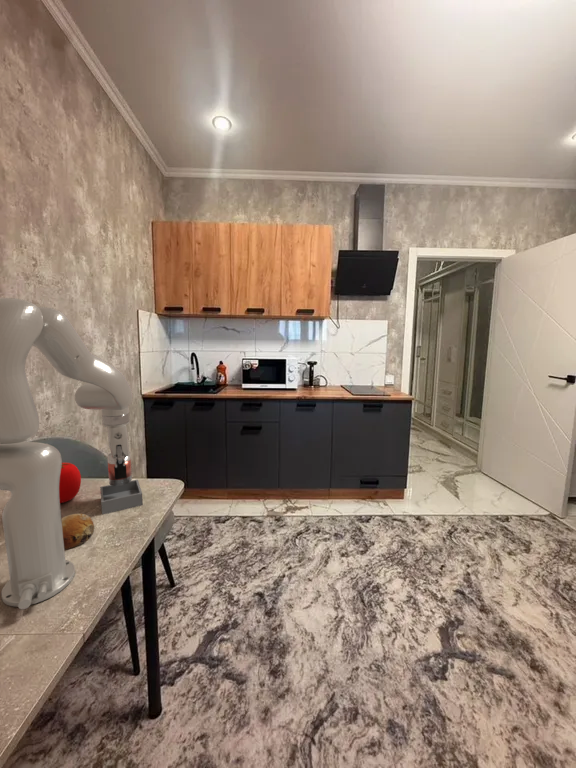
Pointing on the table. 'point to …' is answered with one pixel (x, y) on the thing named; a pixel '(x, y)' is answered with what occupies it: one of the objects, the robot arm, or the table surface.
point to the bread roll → (76, 529)
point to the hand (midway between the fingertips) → (119, 473)
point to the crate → (120, 497)
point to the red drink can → (112, 473)
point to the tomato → (69, 482)
